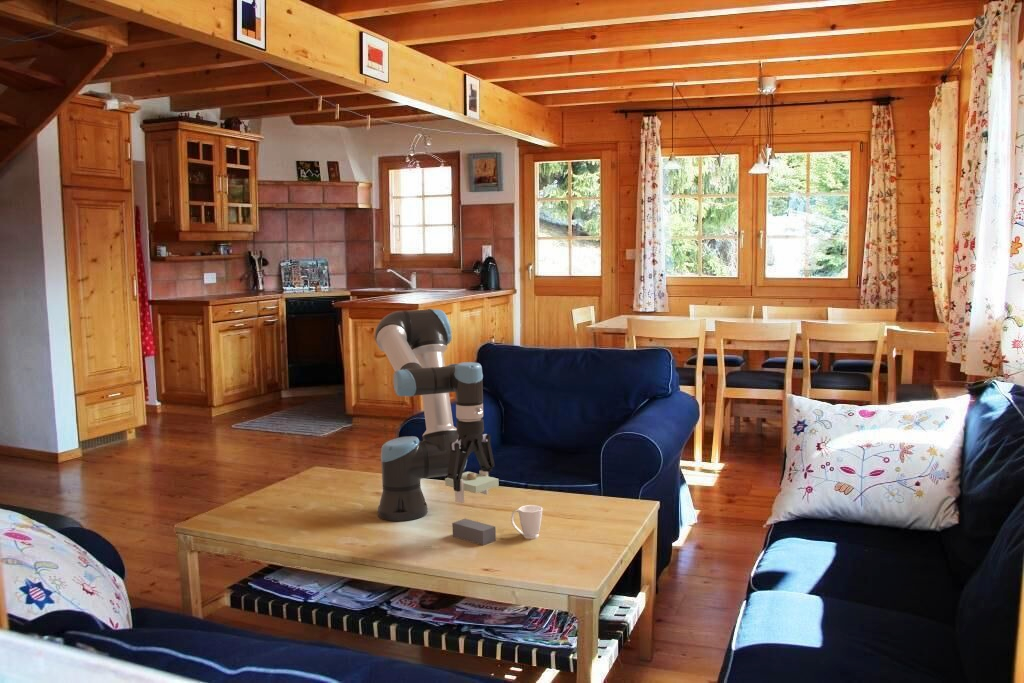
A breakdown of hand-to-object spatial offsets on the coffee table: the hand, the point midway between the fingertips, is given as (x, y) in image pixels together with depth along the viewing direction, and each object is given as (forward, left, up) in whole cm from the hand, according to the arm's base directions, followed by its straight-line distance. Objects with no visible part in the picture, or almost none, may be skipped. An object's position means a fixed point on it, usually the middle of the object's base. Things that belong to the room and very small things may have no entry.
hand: (472, 497), depth 243 cm
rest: (0, 0, -12) cm, 12 cm away
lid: (0, 0, +4) cm, 4 cm away
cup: (+10, +11, -12) cm, 19 cm away
